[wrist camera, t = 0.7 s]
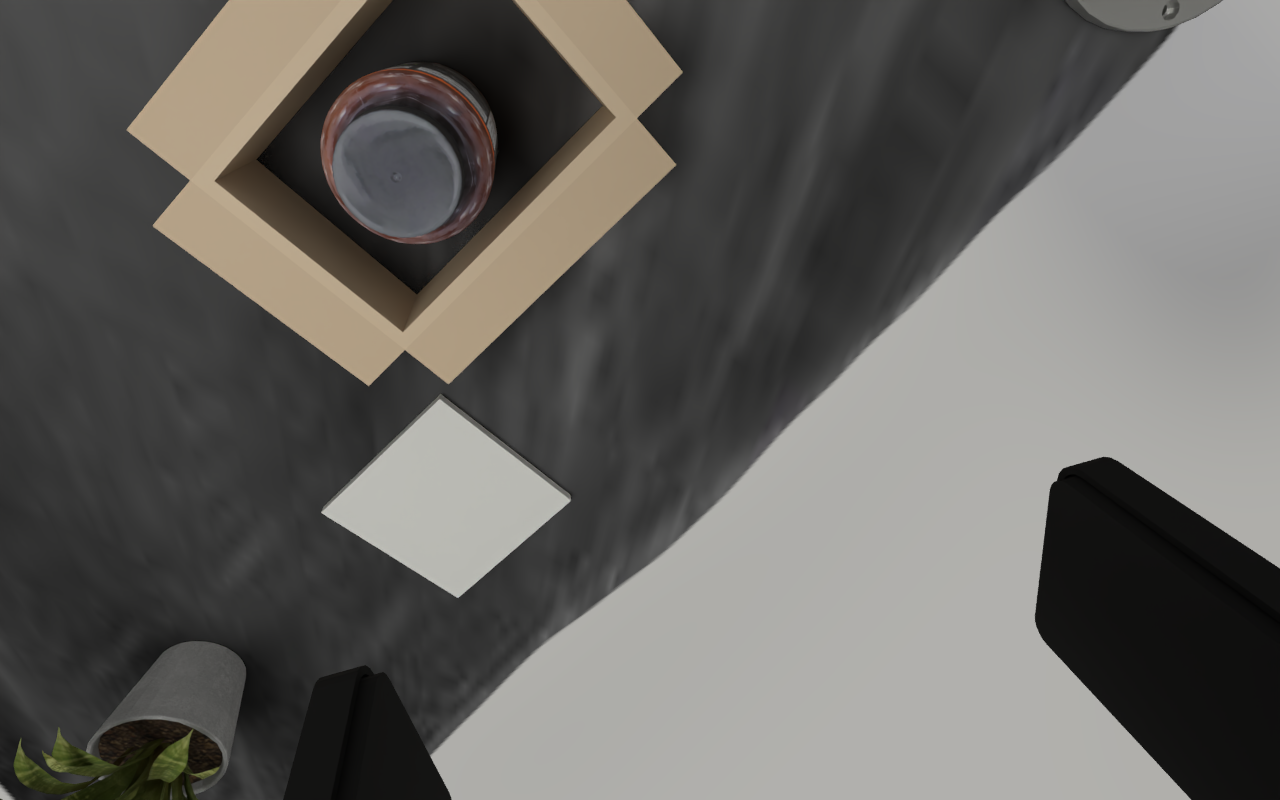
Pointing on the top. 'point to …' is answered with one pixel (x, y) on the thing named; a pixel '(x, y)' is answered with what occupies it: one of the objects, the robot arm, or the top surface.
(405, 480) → the mat
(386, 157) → the supplement bottle
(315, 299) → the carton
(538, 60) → the top surface
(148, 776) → the house plant
